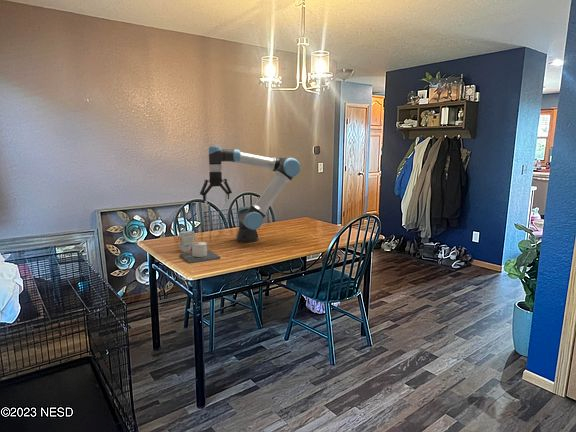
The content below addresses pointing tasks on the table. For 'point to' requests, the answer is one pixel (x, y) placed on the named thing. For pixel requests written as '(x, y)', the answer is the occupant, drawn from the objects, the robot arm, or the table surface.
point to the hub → (192, 259)
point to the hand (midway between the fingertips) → (216, 205)
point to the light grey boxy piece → (199, 249)
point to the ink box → (186, 240)
